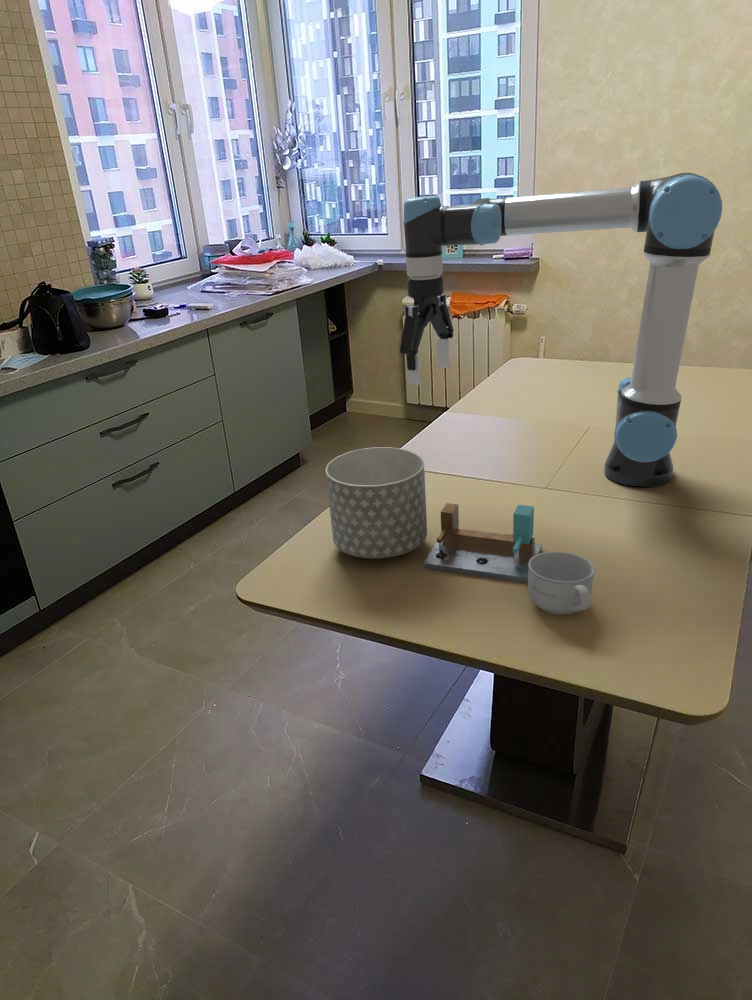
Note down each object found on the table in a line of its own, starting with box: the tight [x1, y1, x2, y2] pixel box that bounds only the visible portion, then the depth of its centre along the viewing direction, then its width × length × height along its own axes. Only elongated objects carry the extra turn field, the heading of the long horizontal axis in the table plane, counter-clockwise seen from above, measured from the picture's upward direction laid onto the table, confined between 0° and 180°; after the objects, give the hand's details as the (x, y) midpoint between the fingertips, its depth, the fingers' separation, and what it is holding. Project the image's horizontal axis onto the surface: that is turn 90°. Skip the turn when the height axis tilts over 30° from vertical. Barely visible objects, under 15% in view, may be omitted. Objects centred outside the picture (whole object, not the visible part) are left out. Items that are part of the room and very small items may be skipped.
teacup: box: [527, 551, 596, 616], centre depth 121 cm, size 14×11×8 cm
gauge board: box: [423, 502, 543, 584], centre depth 137 cm, size 20×13×9 cm, turn 68°
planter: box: [325, 446, 428, 559], centre depth 142 cm, size 19×19×18 cm
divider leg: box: [512, 504, 535, 564], centre depth 134 cm, size 3×9×8 cm, turn 158°
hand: (429, 375), depth 160 cm, fingers open, 13 cm apart
